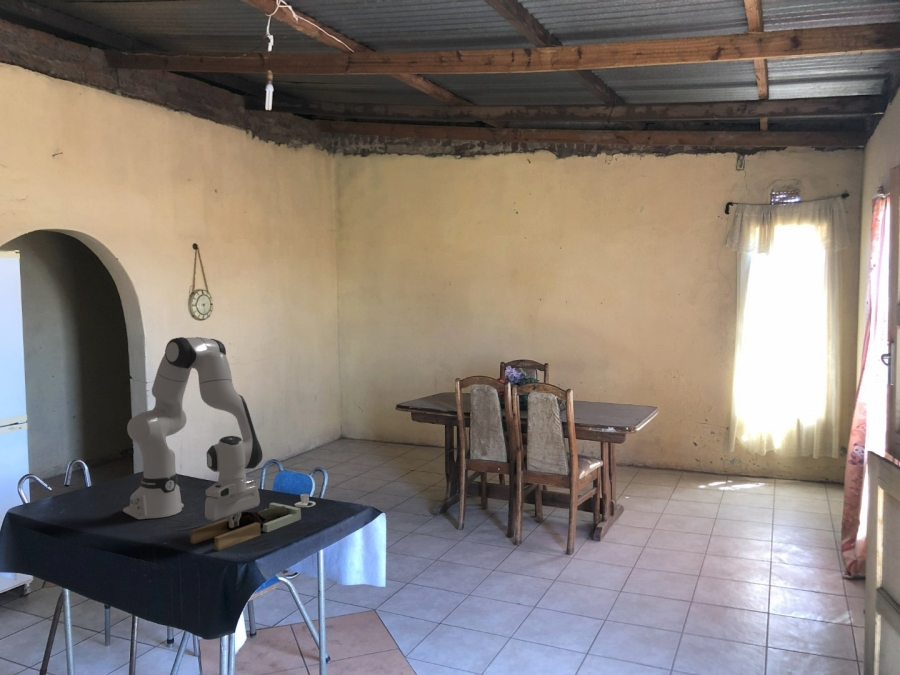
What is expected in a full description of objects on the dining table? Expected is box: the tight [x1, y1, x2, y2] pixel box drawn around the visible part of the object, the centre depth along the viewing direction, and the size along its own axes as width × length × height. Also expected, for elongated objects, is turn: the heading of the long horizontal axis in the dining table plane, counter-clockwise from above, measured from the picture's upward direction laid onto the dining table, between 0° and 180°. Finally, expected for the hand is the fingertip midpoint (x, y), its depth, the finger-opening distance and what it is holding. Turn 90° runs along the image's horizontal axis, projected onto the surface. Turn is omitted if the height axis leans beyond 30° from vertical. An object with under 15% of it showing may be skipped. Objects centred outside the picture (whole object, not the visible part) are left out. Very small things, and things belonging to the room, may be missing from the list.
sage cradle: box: [262, 502, 302, 533], centre depth 246 cm, size 14×16×4 cm
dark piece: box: [226, 506, 288, 532], centre depth 240 cm, size 21×8×7 cm, turn 133°
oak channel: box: [189, 518, 261, 552], centre depth 229 cm, size 14×17×4 cm
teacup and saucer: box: [294, 493, 316, 508], centre depth 266 cm, size 9×8×4 cm
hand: (234, 526), depth 232 cm, fingers closed
